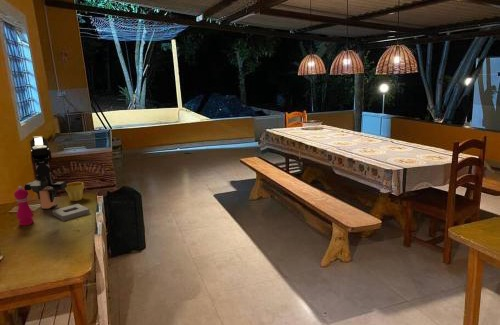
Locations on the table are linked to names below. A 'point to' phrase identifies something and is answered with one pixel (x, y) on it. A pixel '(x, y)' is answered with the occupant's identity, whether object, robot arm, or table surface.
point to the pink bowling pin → (23, 207)
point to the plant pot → (75, 190)
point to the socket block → (70, 212)
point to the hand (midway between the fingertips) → (48, 202)
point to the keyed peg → (46, 198)
